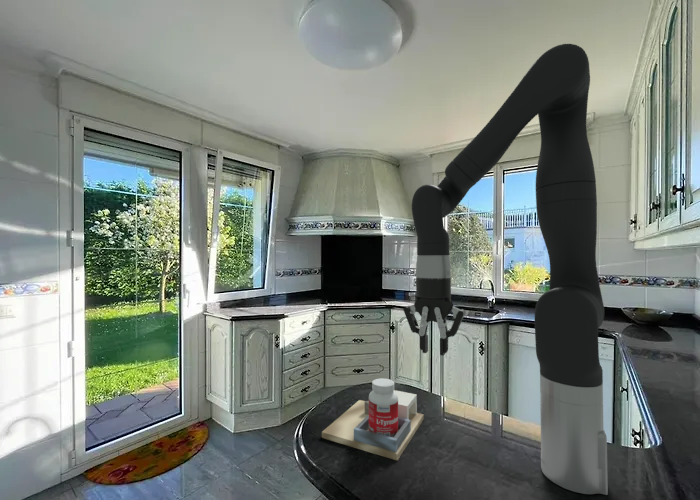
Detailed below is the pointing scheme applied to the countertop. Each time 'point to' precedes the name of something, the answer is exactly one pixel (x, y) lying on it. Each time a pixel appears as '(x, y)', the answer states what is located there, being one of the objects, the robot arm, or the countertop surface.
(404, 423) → the base board
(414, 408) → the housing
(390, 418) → the pill bottle
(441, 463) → the countertop surface
